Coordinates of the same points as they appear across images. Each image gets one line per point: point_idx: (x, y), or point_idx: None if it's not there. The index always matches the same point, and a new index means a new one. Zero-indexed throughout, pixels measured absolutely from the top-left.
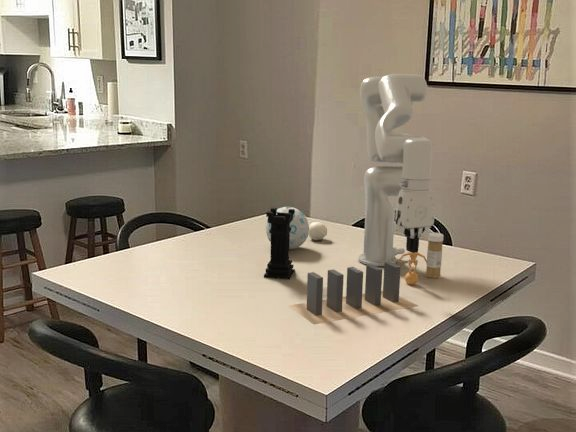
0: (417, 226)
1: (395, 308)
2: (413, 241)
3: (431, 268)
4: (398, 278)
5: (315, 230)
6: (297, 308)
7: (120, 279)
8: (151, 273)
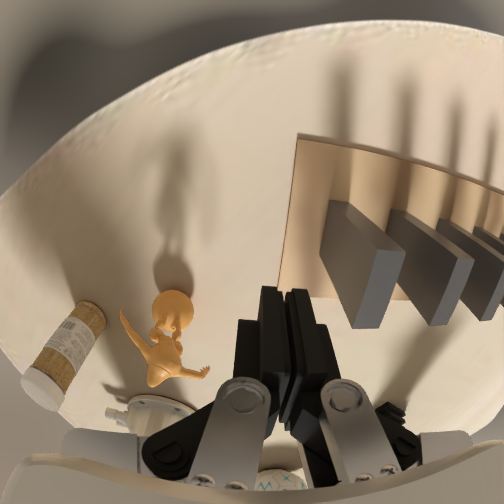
0: (390, 498)
1: (376, 162)
2: (320, 355)
3: (90, 325)
4: (364, 227)
5: None
6: None
7: (482, 411)
8: (458, 424)
